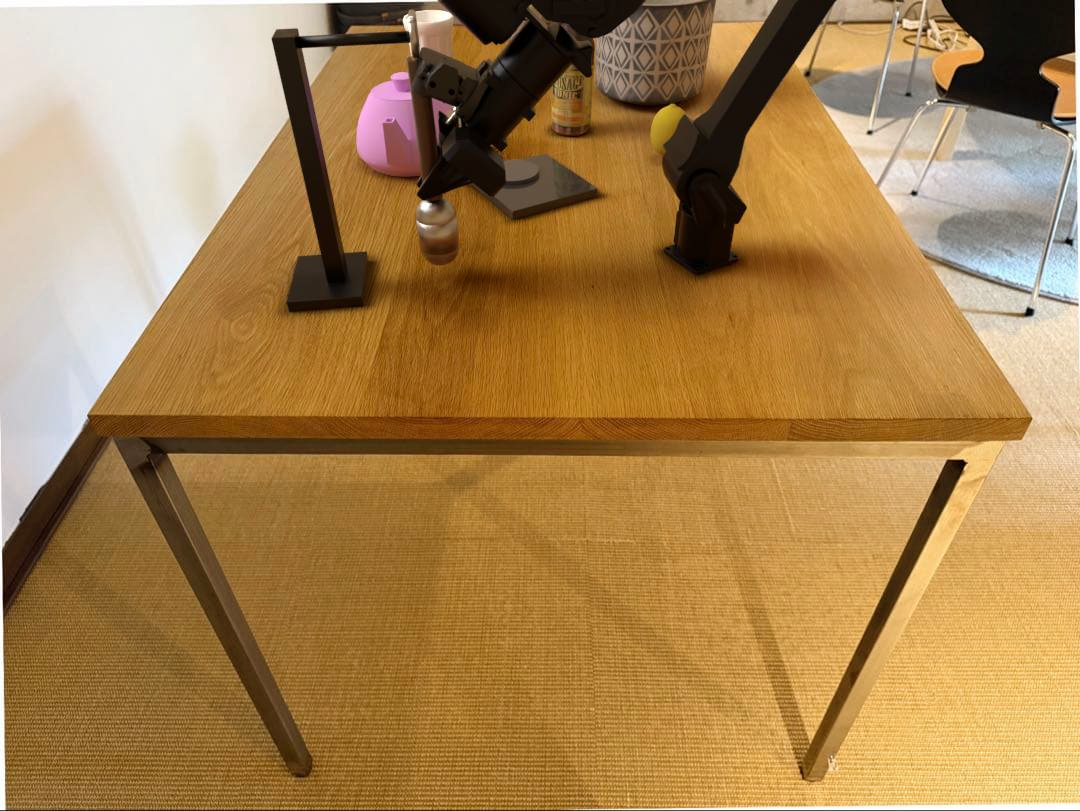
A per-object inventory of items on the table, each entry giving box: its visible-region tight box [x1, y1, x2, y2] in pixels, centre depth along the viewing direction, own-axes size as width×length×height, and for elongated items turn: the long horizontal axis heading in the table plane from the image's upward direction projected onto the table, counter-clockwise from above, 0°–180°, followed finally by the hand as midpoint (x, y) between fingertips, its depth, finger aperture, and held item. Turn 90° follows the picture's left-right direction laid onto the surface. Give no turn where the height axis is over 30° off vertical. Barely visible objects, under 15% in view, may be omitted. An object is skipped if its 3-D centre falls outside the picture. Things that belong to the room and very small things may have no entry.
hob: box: [470, 152, 599, 220], centre depth 104 cm, size 14×13×2 cm
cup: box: [402, 9, 455, 107], centre depth 124 cm, size 8×8×14 cm
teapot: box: [355, 71, 452, 178], centre depth 109 cm, size 22×16×12 cm
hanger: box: [271, 27, 410, 312], centre depth 78 cm, size 16×10×26 cm, turn 97°
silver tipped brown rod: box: [406, 9, 460, 267], centre depth 77 cm, size 4×4×26 cm
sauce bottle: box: [550, 23, 596, 137], centre depth 114 cm, size 7×6×20 cm
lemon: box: [650, 103, 688, 157], centre depth 109 cm, size 6×6×8 cm
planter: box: [595, 0, 717, 106], centre depth 127 cm, size 19×19×16 cm
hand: (420, 192), depth 80 cm, fingers closed on silver tipped brown rod, 2 cm apart
